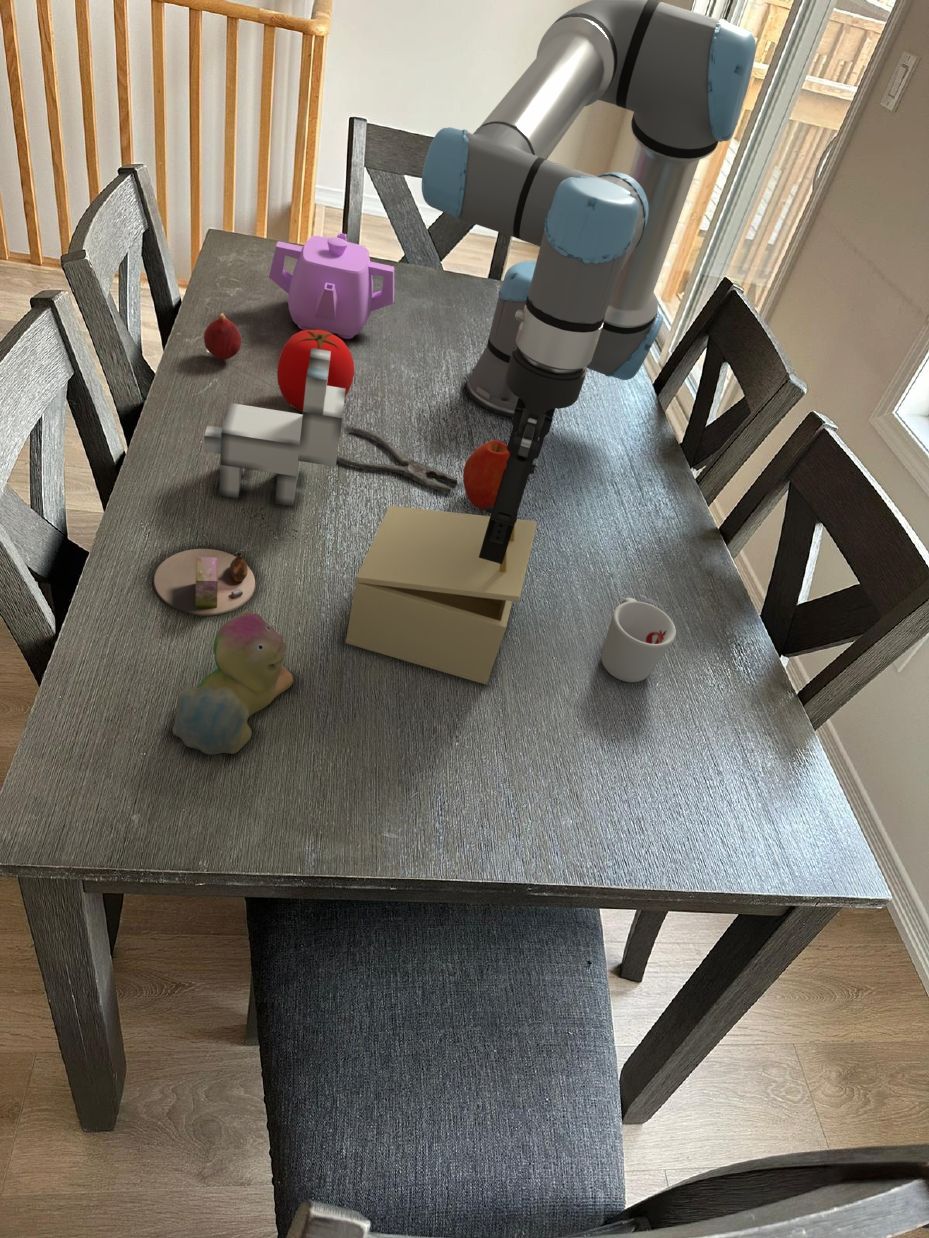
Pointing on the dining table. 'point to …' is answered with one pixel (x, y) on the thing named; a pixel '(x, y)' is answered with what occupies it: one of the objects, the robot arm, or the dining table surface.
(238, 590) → the pink plate
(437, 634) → the chest
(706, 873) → the dining table surface
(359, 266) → the teapot
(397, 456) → the pliers
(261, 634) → the sculpture
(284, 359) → the tomato
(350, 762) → the dining table surface
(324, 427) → the toy llama
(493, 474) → the apple
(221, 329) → the onion
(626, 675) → the cup
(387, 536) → the lid
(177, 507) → the dining table surface
